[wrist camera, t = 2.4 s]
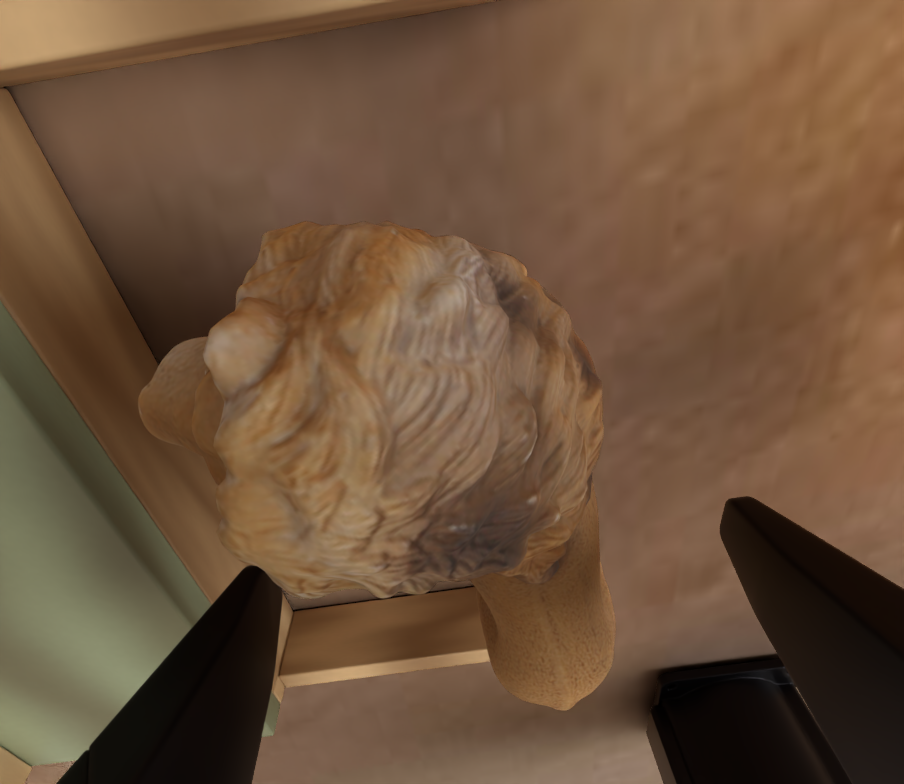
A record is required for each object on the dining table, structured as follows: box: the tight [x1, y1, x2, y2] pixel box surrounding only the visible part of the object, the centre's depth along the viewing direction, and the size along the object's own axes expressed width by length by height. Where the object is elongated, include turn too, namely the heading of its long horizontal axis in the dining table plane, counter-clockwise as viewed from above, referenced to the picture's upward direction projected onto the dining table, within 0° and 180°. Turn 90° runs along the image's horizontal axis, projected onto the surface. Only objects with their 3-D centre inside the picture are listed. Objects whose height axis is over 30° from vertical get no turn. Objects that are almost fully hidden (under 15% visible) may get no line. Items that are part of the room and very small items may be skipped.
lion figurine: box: [138, 221, 616, 710], centre depth 10 cm, size 15×5×9 cm, turn 27°
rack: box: [0, 0, 499, 784], centre depth 12 cm, size 20×19×5 cm
